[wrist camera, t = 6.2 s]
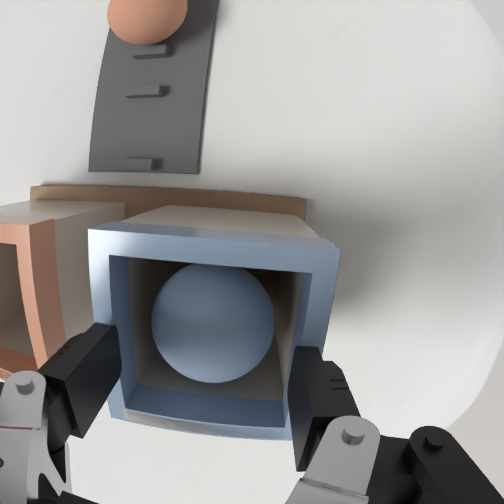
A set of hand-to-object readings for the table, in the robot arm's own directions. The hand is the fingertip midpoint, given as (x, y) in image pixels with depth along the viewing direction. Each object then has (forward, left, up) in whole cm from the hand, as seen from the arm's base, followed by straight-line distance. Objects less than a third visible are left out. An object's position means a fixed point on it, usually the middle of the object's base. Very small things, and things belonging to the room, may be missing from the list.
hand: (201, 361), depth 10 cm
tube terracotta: (0, -11, -10) cm, 15 cm away
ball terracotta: (-17, -6, -11) cm, 21 cm away
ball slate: (0, 0, -6) cm, 6 cm away
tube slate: (0, 0, -10) cm, 10 cm away
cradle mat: (-13, -6, -12) cm, 19 cm away
